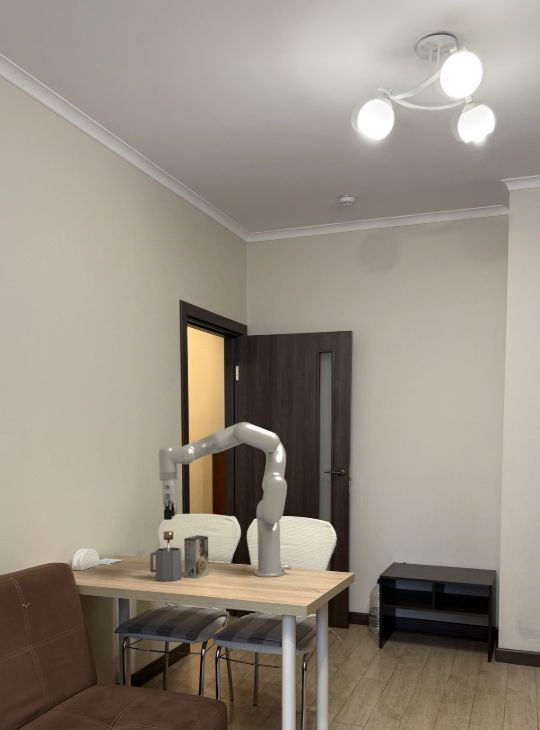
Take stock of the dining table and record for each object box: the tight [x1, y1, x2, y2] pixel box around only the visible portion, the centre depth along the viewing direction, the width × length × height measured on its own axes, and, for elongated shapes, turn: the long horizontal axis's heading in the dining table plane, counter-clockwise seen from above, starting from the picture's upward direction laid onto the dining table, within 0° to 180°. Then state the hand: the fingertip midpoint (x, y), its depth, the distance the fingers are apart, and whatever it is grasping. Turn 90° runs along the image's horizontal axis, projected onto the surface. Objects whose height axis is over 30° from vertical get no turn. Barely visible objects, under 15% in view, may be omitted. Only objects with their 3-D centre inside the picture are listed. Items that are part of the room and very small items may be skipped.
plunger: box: [163, 530, 174, 552], centre depth 289 cm, size 8×8×16 cm
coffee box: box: [183, 534, 210, 579], centre depth 294 cm, size 9×6×16 cm
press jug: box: [149, 546, 182, 583], centre depth 289 cm, size 13×10×12 cm
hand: (169, 518), depth 290 cm, fingers open, 9 cm apart
